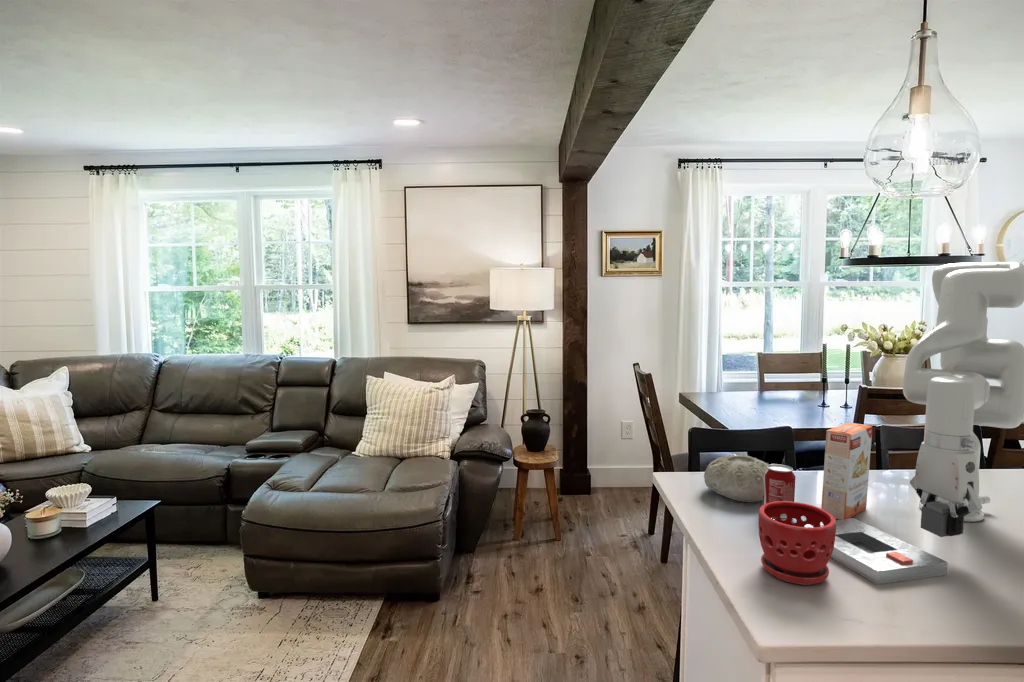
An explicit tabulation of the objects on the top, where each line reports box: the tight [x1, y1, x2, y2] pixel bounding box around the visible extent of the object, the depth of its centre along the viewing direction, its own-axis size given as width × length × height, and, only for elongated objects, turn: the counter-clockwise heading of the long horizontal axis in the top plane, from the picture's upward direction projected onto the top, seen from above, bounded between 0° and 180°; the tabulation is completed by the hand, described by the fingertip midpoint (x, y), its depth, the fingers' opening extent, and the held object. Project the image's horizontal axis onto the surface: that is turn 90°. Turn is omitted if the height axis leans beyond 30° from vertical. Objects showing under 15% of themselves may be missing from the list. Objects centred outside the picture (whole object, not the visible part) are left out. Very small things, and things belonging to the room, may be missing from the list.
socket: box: [804, 517, 949, 586], centre depth 120 cm, size 16×22×3 cm
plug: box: [920, 500, 965, 538], centre depth 117 cm, size 5×4×5 cm
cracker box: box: [820, 422, 873, 520], centre depth 142 cm, size 14×6×21 cm, turn 131°
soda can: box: [762, 463, 796, 520], centre depth 139 cm, size 7×7×12 cm
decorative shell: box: [703, 454, 769, 503], centre depth 154 cm, size 18×18×10 cm
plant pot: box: [757, 501, 837, 586], centre depth 111 cm, size 13×13×12 cm
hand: (941, 528), depth 118 cm, fingers closed on plug, 4 cm apart
